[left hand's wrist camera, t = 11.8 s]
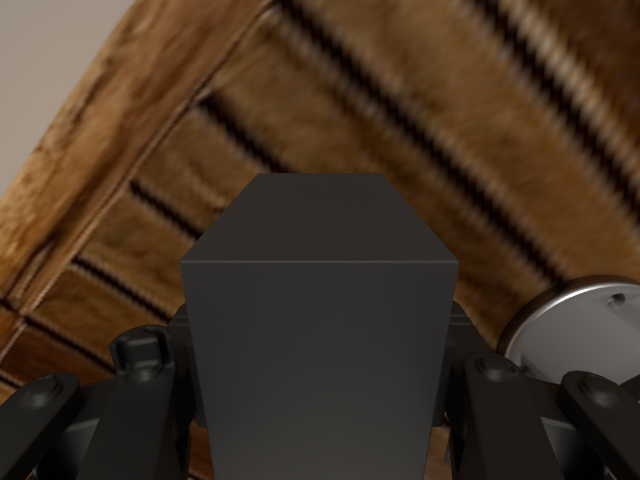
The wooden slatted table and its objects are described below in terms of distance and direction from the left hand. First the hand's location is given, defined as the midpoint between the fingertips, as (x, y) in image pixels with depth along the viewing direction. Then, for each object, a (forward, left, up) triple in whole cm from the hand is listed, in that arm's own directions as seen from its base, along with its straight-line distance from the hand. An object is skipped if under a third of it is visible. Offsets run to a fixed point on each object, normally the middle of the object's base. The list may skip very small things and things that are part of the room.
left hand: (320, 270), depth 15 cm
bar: (-4, +5, -1) cm, 7 cm away
